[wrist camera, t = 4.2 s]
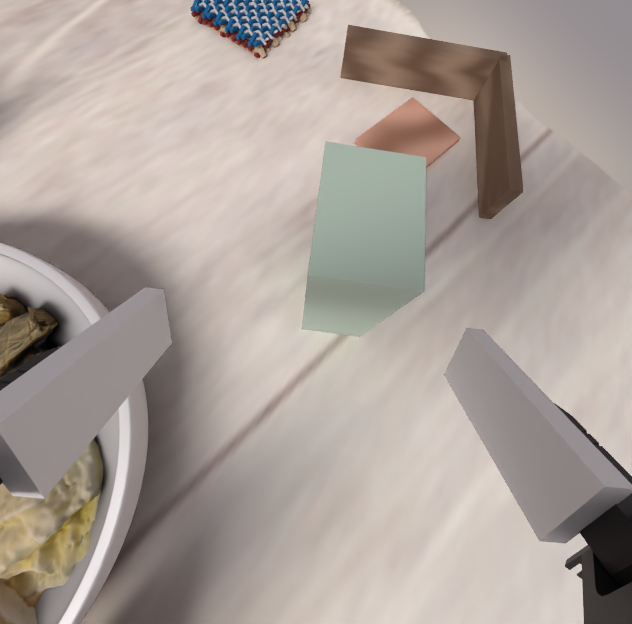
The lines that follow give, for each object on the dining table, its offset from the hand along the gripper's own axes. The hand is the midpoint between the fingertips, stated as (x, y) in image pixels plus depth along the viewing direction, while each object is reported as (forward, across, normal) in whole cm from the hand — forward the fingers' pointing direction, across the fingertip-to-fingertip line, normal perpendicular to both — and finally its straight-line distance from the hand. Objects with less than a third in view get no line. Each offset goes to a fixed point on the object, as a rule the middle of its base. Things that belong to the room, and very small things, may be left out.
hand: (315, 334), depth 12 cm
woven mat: (+35, -11, +20) cm, 42 cm away
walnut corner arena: (+24, +8, +10) cm, 27 cm away
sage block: (+12, +2, -3) cm, 12 cm away
